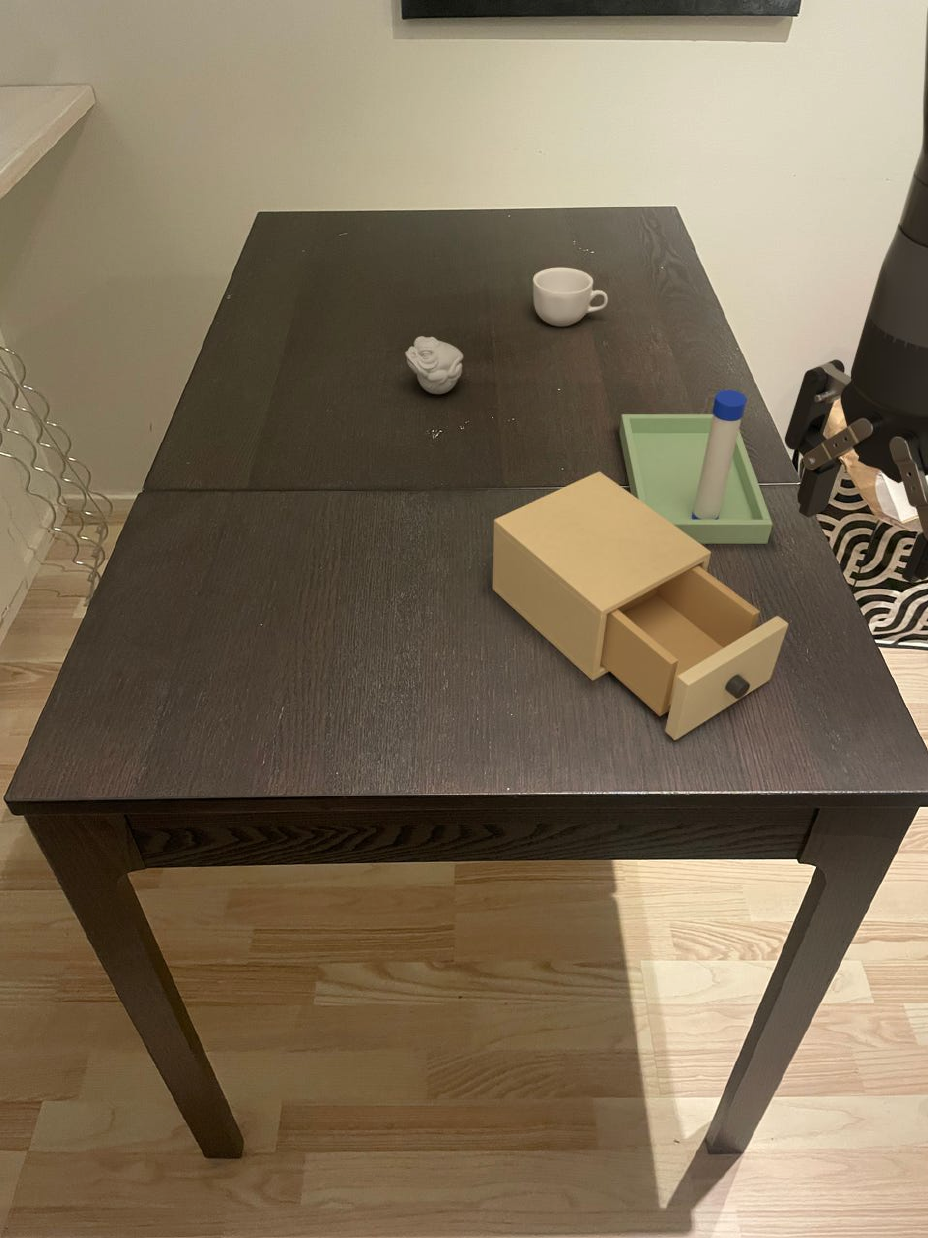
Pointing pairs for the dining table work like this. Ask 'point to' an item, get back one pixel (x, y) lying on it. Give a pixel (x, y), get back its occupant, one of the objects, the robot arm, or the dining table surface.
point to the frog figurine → (435, 364)
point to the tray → (691, 478)
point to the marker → (718, 454)
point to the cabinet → (585, 562)
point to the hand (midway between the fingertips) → (861, 543)
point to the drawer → (690, 648)
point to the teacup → (564, 295)
